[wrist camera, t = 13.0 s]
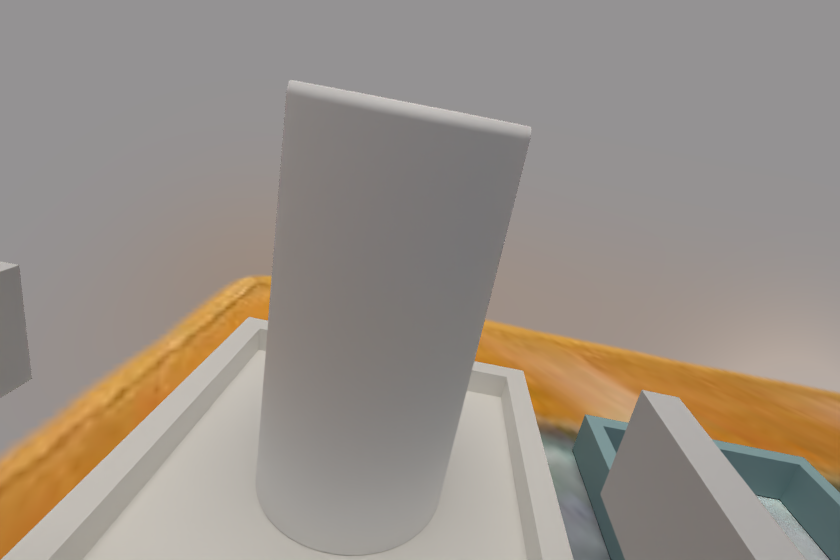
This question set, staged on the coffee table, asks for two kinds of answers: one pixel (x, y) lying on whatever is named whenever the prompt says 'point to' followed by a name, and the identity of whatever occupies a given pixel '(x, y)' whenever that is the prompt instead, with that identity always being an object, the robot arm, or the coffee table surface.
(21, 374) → the robot arm
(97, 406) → the coffee table surface
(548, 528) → the tray
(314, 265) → the cup
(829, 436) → the coffee table surface
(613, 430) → the collar
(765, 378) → the coffee table surface
